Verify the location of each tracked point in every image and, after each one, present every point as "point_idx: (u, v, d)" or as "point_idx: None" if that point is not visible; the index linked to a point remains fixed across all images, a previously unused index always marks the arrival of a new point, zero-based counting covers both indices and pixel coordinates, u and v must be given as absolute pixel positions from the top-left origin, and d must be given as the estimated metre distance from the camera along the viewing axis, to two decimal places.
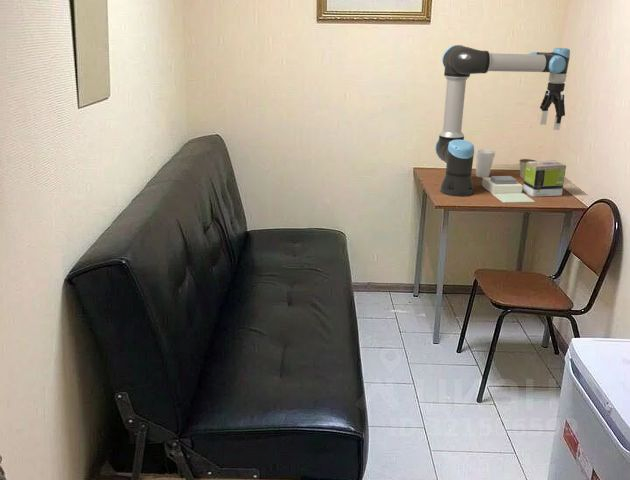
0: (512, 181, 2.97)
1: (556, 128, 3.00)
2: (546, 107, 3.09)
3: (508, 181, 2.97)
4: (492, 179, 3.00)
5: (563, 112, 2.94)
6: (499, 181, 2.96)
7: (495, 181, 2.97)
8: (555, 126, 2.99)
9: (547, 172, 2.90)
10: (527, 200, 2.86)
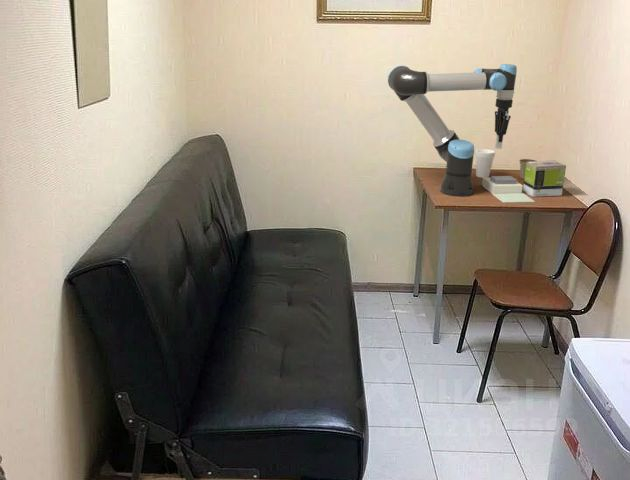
0: (512, 181, 2.97)
1: (498, 146, 3.04)
2: None
3: (508, 181, 2.97)
4: (492, 179, 3.00)
5: (504, 132, 2.99)
6: (499, 181, 2.96)
7: (495, 181, 2.97)
8: (497, 144, 3.04)
9: (547, 172, 2.90)
10: (527, 200, 2.86)
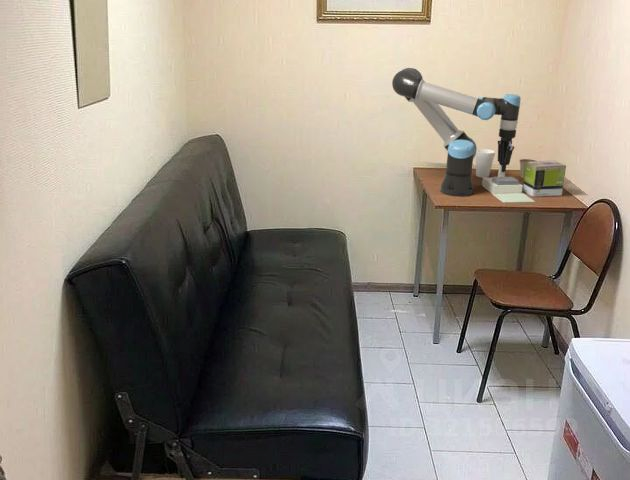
0: (514, 182, 2.96)
1: (501, 176, 3.01)
2: None
3: (510, 182, 2.95)
4: (494, 180, 2.99)
5: (508, 162, 2.96)
6: (501, 182, 2.95)
7: (497, 182, 2.96)
8: (500, 174, 3.01)
9: (547, 172, 2.90)
10: (527, 200, 2.86)
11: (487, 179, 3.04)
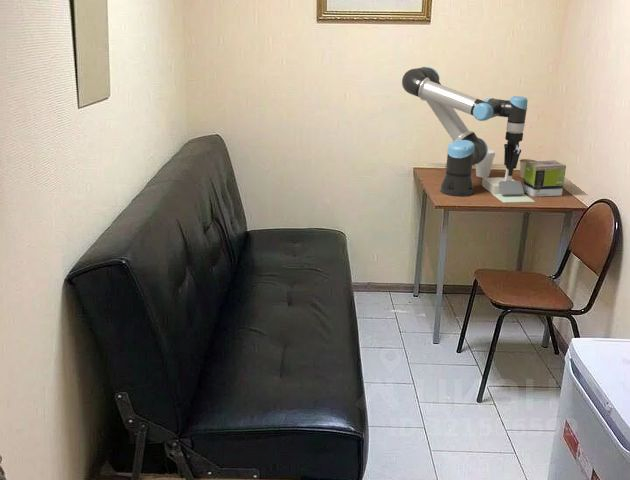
0: (519, 194, 2.91)
1: (508, 180, 2.95)
2: None
3: (515, 194, 2.91)
4: (500, 186, 2.93)
5: (515, 166, 2.89)
6: (506, 194, 2.90)
7: (502, 192, 2.91)
8: (507, 178, 2.94)
9: (547, 172, 2.90)
10: (527, 200, 2.86)
11: (487, 179, 3.04)
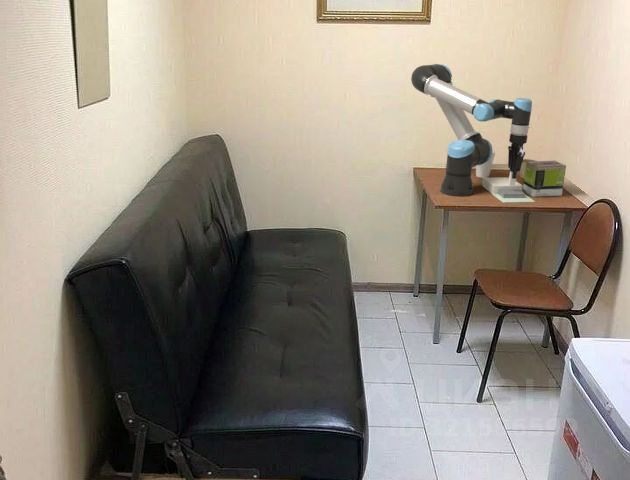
0: (520, 195, 2.89)
1: (512, 183, 2.91)
2: None
3: (516, 195, 2.89)
4: (499, 192, 2.93)
5: (518, 169, 2.85)
6: (506, 195, 2.88)
7: (502, 195, 2.89)
8: (510, 181, 2.90)
9: (547, 172, 2.90)
10: (527, 200, 2.86)
11: (487, 179, 3.04)
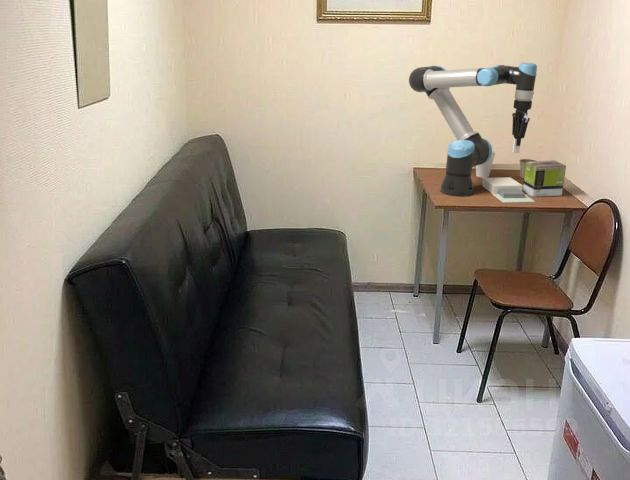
0: (520, 195, 2.89)
1: (516, 151, 2.85)
2: None
3: (516, 195, 2.89)
4: (499, 192, 2.93)
5: (523, 135, 2.80)
6: (506, 195, 2.88)
7: (502, 195, 2.89)
8: (514, 148, 2.85)
9: (547, 172, 2.90)
10: (527, 200, 2.86)
11: (487, 179, 3.04)
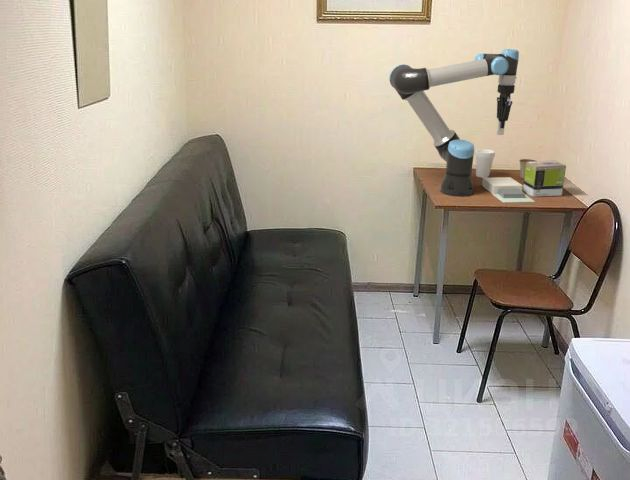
0: (520, 195, 2.89)
1: (500, 133, 3.02)
2: None
3: (516, 195, 2.89)
4: (499, 192, 2.93)
5: (506, 118, 2.96)
6: (506, 195, 2.88)
7: (502, 195, 2.89)
8: (499, 130, 3.01)
9: (547, 172, 2.90)
10: (527, 200, 2.86)
11: (487, 179, 3.04)
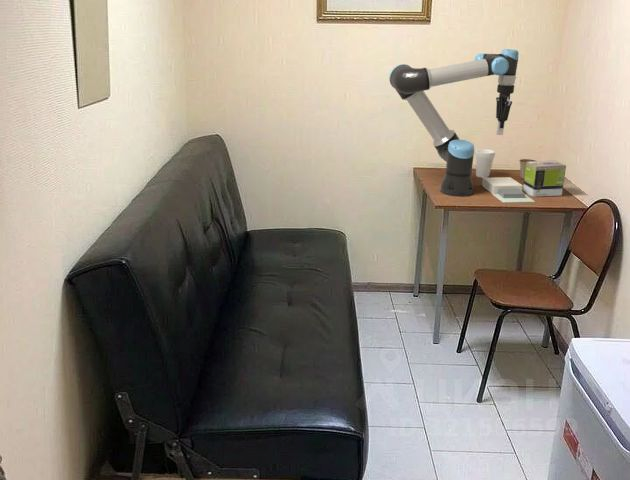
0: (520, 195, 2.89)
1: (499, 133, 3.02)
2: None
3: (516, 195, 2.89)
4: (499, 192, 2.93)
5: (506, 118, 2.97)
6: (506, 195, 2.88)
7: (502, 195, 2.89)
8: (498, 130, 3.02)
9: (547, 172, 2.90)
10: (527, 200, 2.86)
11: (487, 179, 3.04)
